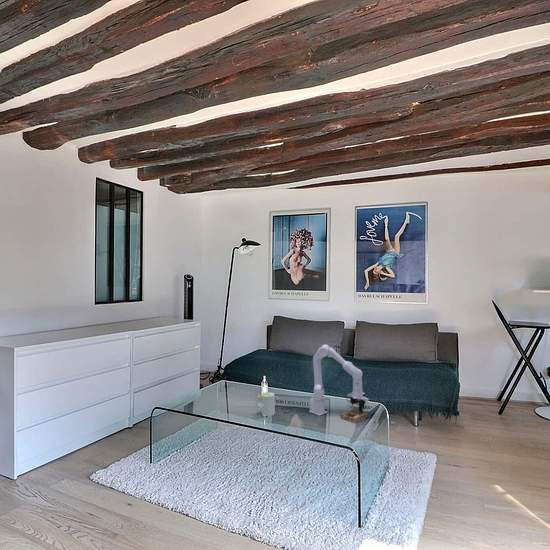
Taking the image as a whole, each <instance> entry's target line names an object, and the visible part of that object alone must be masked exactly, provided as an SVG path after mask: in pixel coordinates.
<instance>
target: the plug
mask: <svg viewBox="0 0 550 550" xmlns="http://www.w3.org/2000/svg"><path fill="white" fill-rule="evenodd" d="M352 409H353V413H355V414H361V413H362V412H360V411H359V403H354V404H353V406H352Z"/></svg>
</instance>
